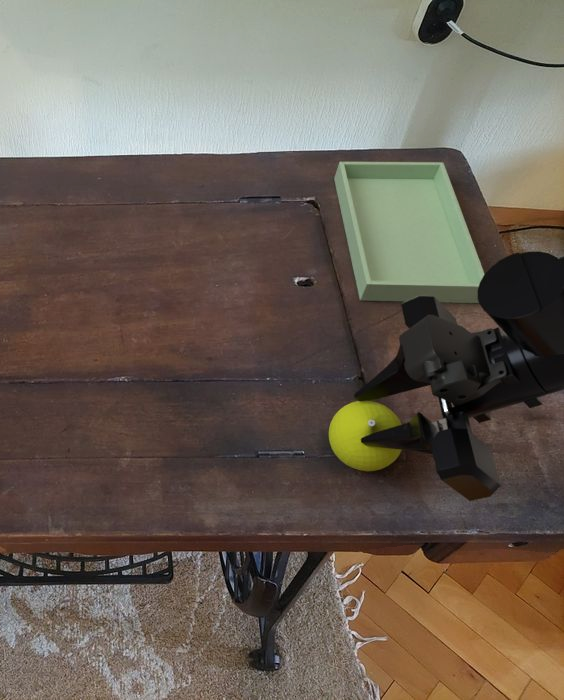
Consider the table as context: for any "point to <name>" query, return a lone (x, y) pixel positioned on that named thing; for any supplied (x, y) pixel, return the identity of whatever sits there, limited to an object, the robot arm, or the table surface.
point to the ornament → (362, 435)
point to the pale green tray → (406, 232)
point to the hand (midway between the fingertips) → (359, 419)
